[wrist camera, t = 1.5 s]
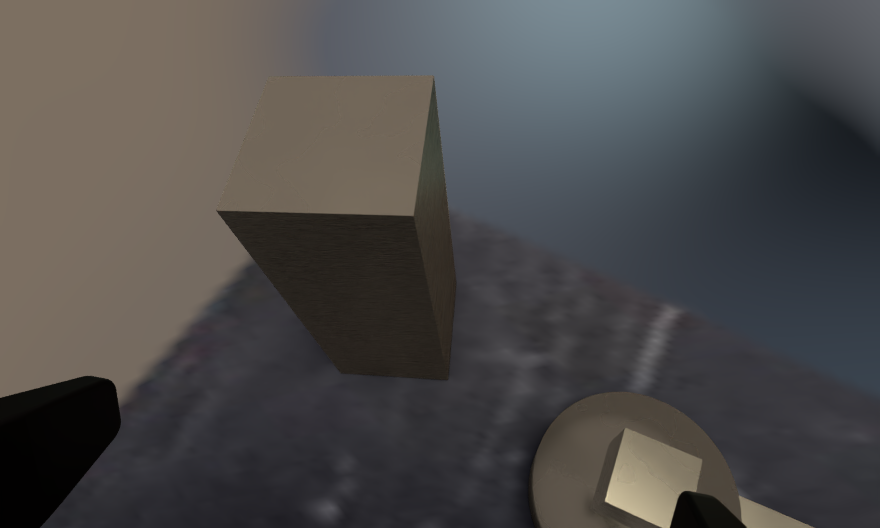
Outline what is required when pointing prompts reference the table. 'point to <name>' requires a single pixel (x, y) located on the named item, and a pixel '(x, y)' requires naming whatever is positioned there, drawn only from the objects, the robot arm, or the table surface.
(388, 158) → the tall beige block
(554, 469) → the ratchet
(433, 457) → the table surface
